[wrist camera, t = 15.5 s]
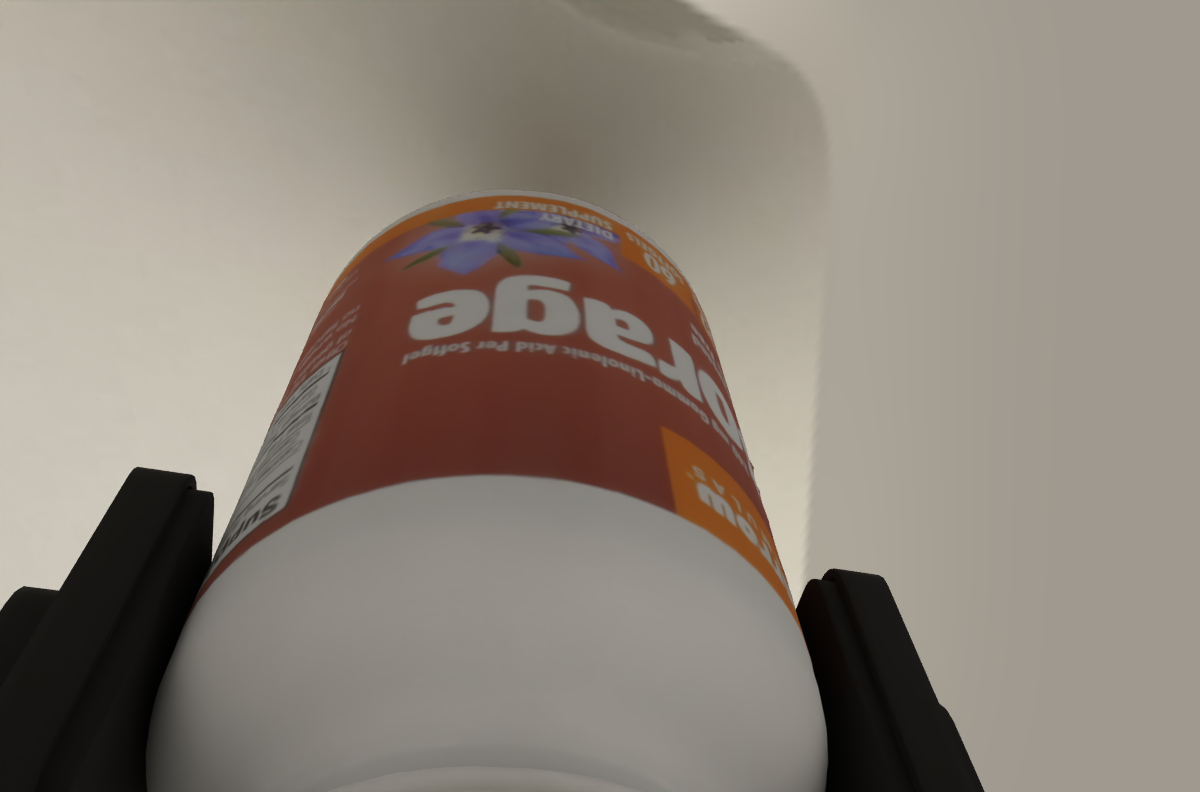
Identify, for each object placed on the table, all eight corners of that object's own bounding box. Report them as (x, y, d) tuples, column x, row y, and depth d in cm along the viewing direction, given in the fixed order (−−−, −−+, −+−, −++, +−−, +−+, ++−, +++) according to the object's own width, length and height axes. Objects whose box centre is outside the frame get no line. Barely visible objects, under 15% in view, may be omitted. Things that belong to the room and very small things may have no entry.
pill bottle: (788, 297, 16) (1167, 1063, 6) (584, 569, 18) (639, 1408, 9) (423, 93, 14) (184, 746, 4) (254, 427, 17) (-131, 1298, 7)
